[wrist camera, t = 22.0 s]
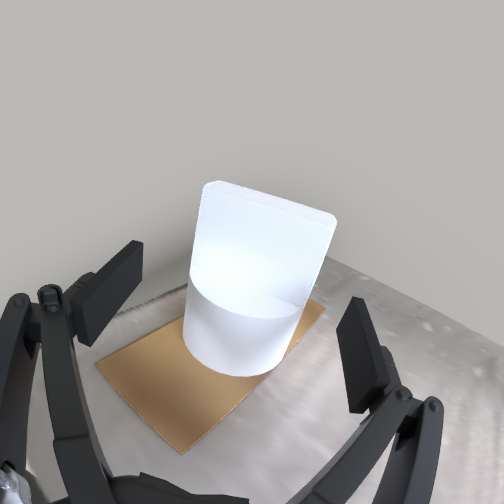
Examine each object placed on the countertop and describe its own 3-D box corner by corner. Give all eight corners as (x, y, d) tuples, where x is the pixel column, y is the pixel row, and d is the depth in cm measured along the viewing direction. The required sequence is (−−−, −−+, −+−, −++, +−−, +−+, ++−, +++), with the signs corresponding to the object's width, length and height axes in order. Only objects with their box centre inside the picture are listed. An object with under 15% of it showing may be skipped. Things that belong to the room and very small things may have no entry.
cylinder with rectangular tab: (163, 349, 20) (176, 196, 15) (206, 292, 28) (229, 174, 23) (274, 391, 19) (339, 247, 14) (292, 321, 27) (335, 205, 22)
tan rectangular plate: (181, 455, 13) (182, 453, 13) (95, 365, 17) (94, 363, 17) (325, 310, 31) (325, 307, 30) (259, 273, 34) (260, 271, 34)
